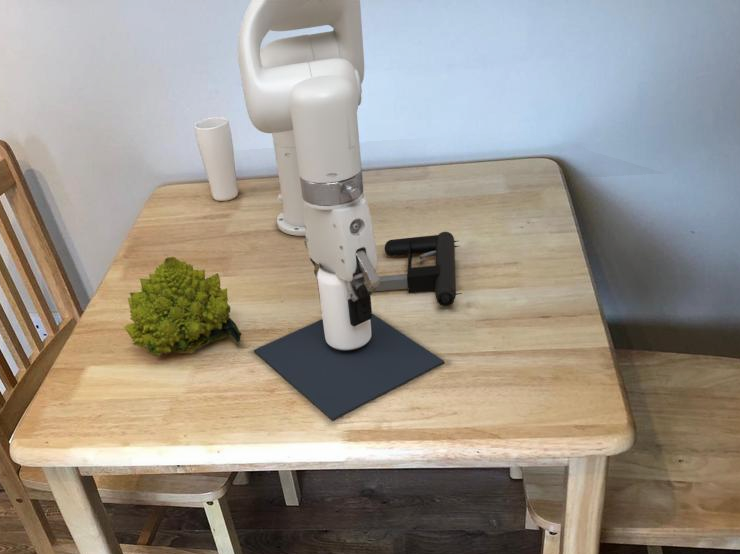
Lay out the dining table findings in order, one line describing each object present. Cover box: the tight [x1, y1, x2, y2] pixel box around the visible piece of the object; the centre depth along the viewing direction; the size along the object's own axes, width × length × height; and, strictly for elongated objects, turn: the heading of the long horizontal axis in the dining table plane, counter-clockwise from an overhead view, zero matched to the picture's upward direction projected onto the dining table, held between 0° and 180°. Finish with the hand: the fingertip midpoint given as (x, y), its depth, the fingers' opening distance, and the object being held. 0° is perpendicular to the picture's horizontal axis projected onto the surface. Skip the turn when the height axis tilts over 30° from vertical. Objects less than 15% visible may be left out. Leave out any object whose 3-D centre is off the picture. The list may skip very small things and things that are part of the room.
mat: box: [253, 313, 445, 422], centre depth 104 cm, size 20×18×1 cm
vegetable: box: [123, 256, 242, 357], centre depth 110 cm, size 15×16×15 cm
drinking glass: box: [193, 116, 239, 202], centre depth 149 cm, size 7×7×15 cm
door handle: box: [373, 231, 463, 308], centre depth 119 cm, size 3×20×16 cm
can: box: [316, 263, 371, 351], centre depth 102 cm, size 6×6×12 cm
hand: (345, 310), depth 103 cm, fingers closed on can, 6 cm apart
